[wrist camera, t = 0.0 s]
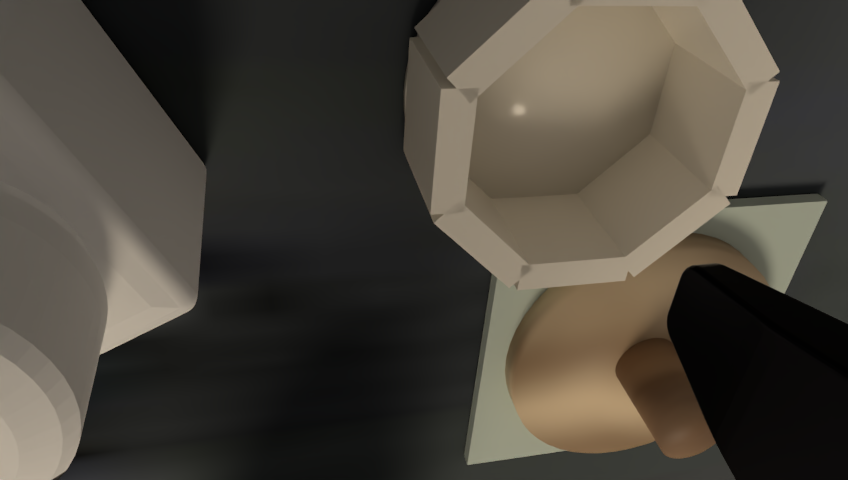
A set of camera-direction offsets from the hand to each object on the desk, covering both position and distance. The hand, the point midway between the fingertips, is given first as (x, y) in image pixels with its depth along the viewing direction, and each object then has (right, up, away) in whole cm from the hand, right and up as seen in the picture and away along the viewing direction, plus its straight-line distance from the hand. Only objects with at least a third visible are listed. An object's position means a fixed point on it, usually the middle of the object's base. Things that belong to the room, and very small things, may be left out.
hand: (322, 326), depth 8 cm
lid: (+11, -4, +23) cm, 26 cm away
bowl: (+5, +6, +16) cm, 18 cm away
